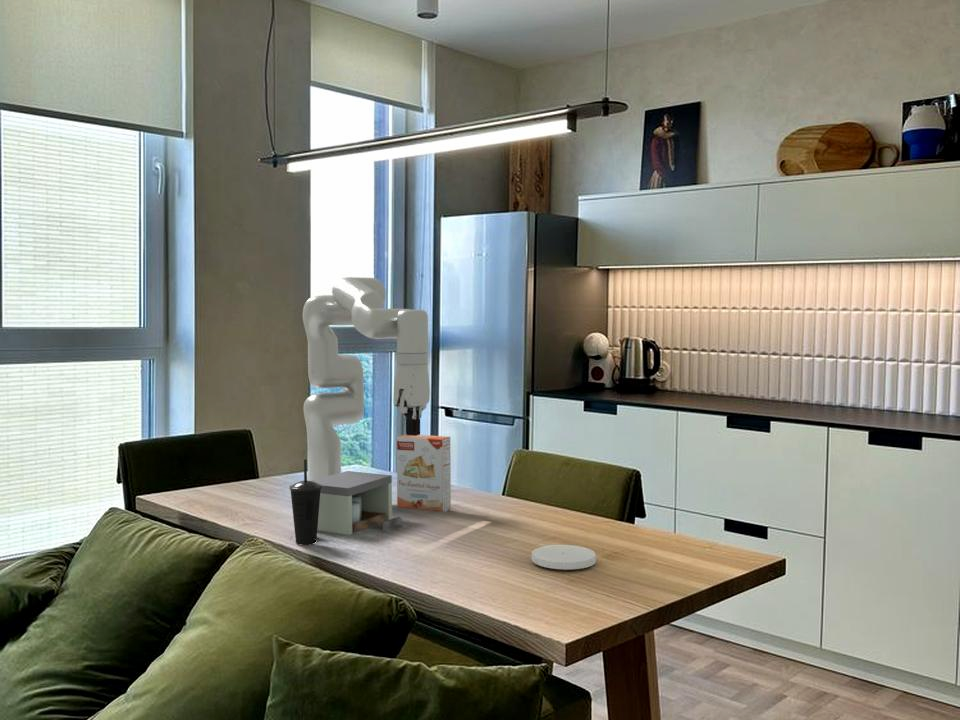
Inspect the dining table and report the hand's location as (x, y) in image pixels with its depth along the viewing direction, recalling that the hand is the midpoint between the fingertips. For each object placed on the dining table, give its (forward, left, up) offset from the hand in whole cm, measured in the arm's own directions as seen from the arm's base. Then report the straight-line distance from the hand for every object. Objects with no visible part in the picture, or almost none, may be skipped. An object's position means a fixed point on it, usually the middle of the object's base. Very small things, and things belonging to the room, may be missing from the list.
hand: (413, 434), depth 220 cm
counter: (+1, -13, -25) cm, 28 cm away
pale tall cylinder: (-2, -20, -24) cm, 31 cm away
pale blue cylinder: (+4, -16, -24) cm, 29 cm away
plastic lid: (+6, +42, -26) cm, 50 cm away
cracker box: (-24, -12, -25) cm, 37 cm away
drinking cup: (+18, -19, -25) cm, 36 cm away
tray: (+1, -14, -25) cm, 29 cm away
